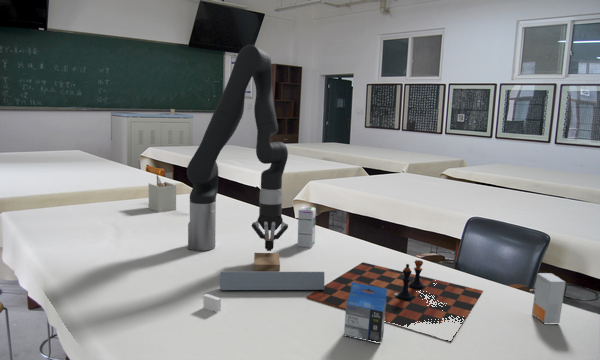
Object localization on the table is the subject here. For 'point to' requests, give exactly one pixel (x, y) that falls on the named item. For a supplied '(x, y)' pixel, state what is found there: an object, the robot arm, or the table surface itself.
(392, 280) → the chessboard
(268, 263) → the block
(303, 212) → the syrup box
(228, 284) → the board
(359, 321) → the label tape cartridge
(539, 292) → the skincare box
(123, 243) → the table surface
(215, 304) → the eraser
